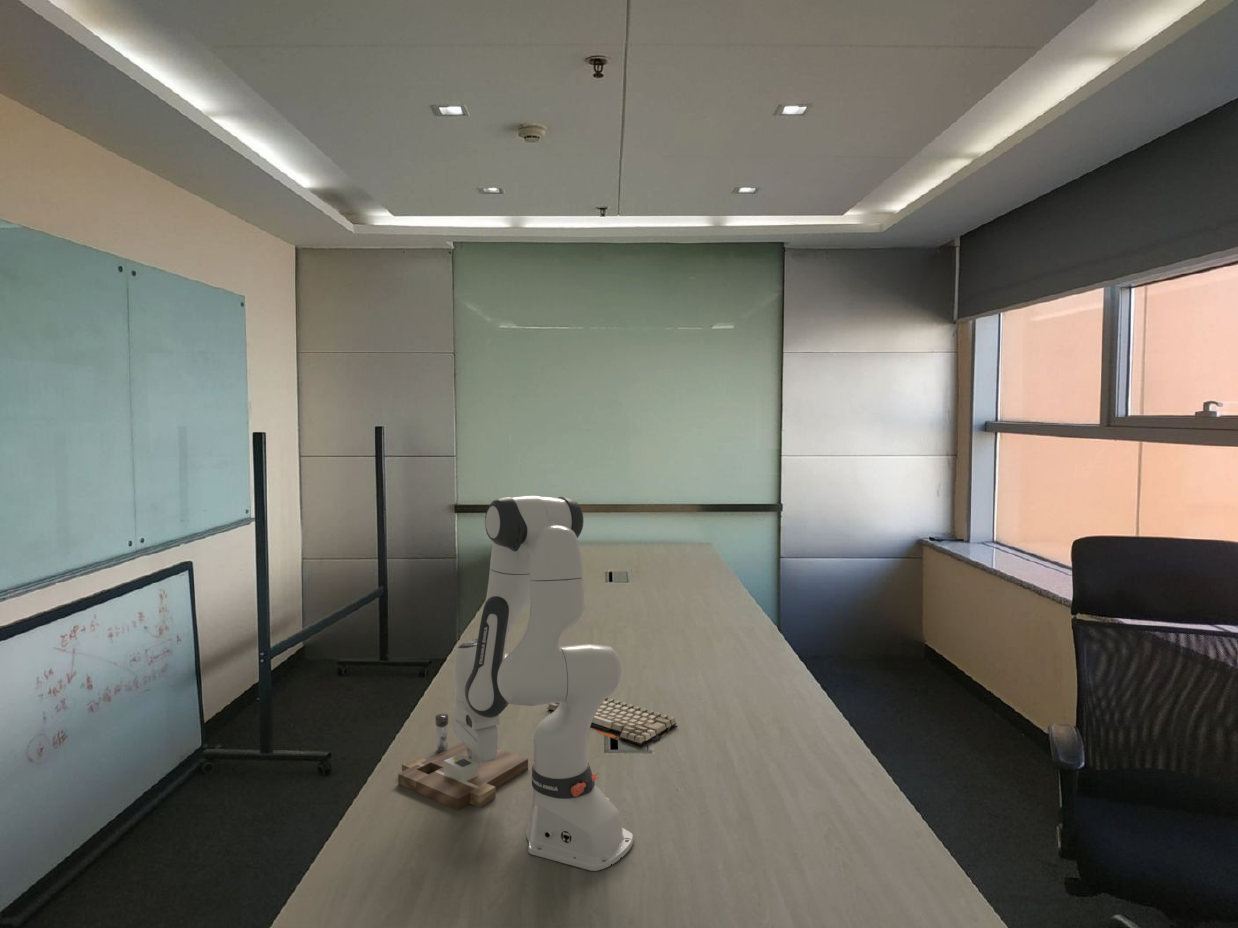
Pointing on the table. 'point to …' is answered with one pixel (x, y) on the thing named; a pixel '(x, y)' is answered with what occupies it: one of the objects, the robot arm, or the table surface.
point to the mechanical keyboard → (629, 722)
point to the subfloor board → (452, 789)
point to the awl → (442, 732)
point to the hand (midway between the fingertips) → (473, 764)
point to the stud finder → (461, 768)
